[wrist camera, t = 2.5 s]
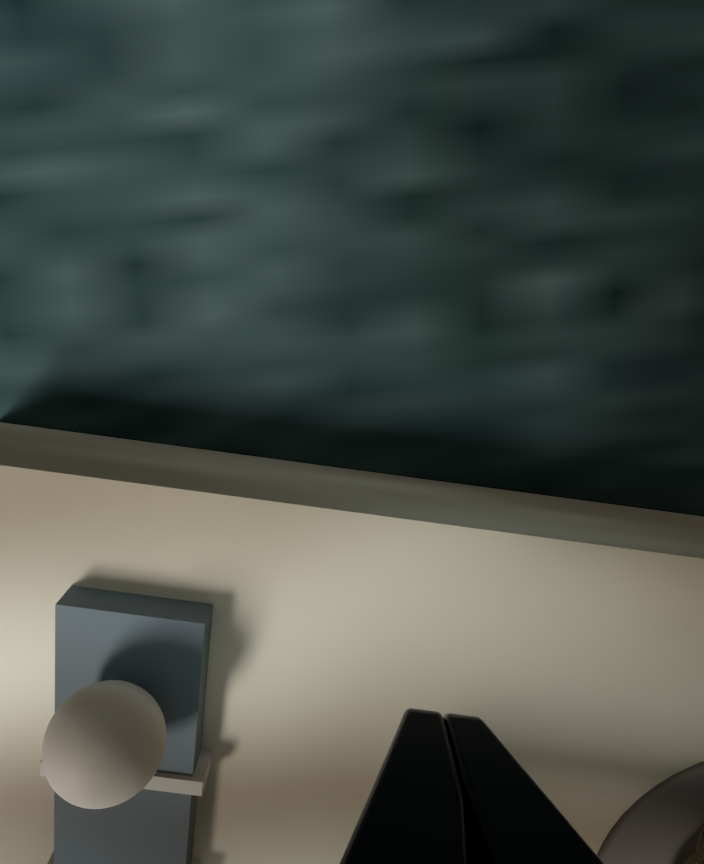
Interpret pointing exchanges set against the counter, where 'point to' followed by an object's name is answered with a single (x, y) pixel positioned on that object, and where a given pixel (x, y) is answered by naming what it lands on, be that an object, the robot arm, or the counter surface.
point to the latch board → (325, 651)
